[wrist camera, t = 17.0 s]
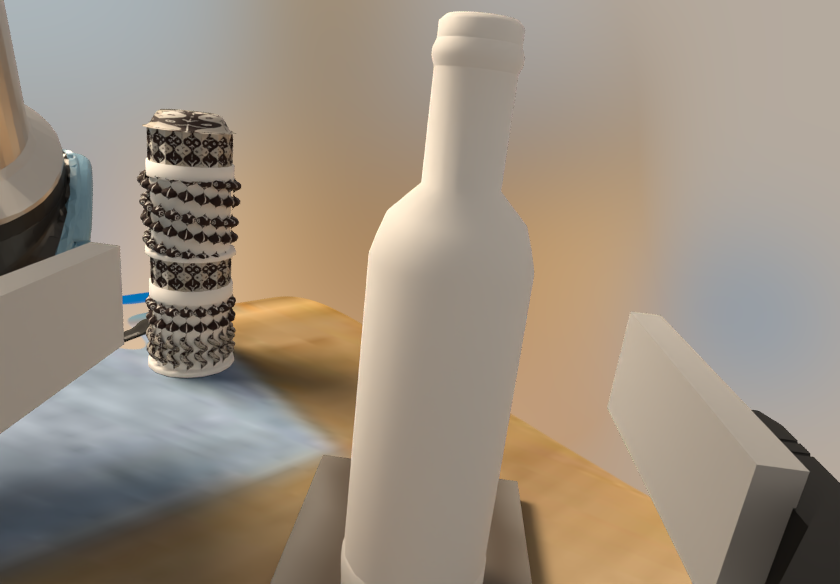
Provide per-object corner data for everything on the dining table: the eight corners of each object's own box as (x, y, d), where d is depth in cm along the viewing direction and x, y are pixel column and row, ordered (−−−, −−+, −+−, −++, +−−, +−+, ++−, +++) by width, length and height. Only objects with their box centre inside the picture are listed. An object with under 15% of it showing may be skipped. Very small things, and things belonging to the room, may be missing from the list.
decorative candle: (181, 389, 56) (178, 114, 48) (124, 359, 61) (113, 103, 53) (256, 361, 63) (263, 119, 56) (200, 336, 68) (200, 109, 61)
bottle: (506, 627, 32) (622, 28, 23) (373, 679, 28) (451, -11, 19) (434, 531, 39) (503, 37, 30) (318, 564, 35) (358, 9, 26)
